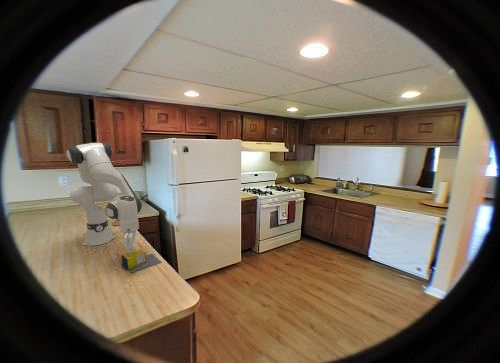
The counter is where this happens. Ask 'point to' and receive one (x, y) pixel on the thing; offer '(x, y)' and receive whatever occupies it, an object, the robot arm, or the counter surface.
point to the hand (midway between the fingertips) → (131, 250)
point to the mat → (146, 263)
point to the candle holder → (117, 222)
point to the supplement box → (133, 259)
